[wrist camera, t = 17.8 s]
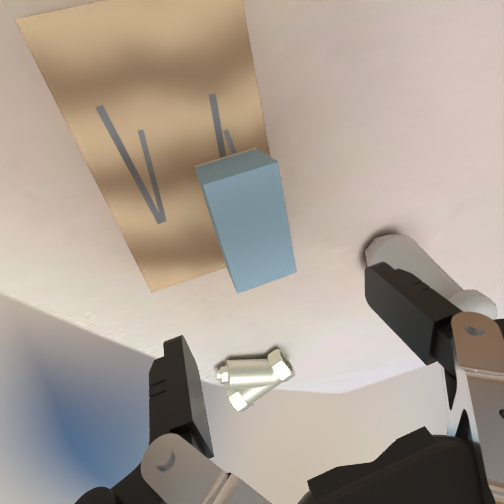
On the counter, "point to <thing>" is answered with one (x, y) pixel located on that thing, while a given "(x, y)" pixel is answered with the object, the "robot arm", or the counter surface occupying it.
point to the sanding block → (248, 216)
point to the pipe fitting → (253, 377)
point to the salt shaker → (426, 272)
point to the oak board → (154, 114)
